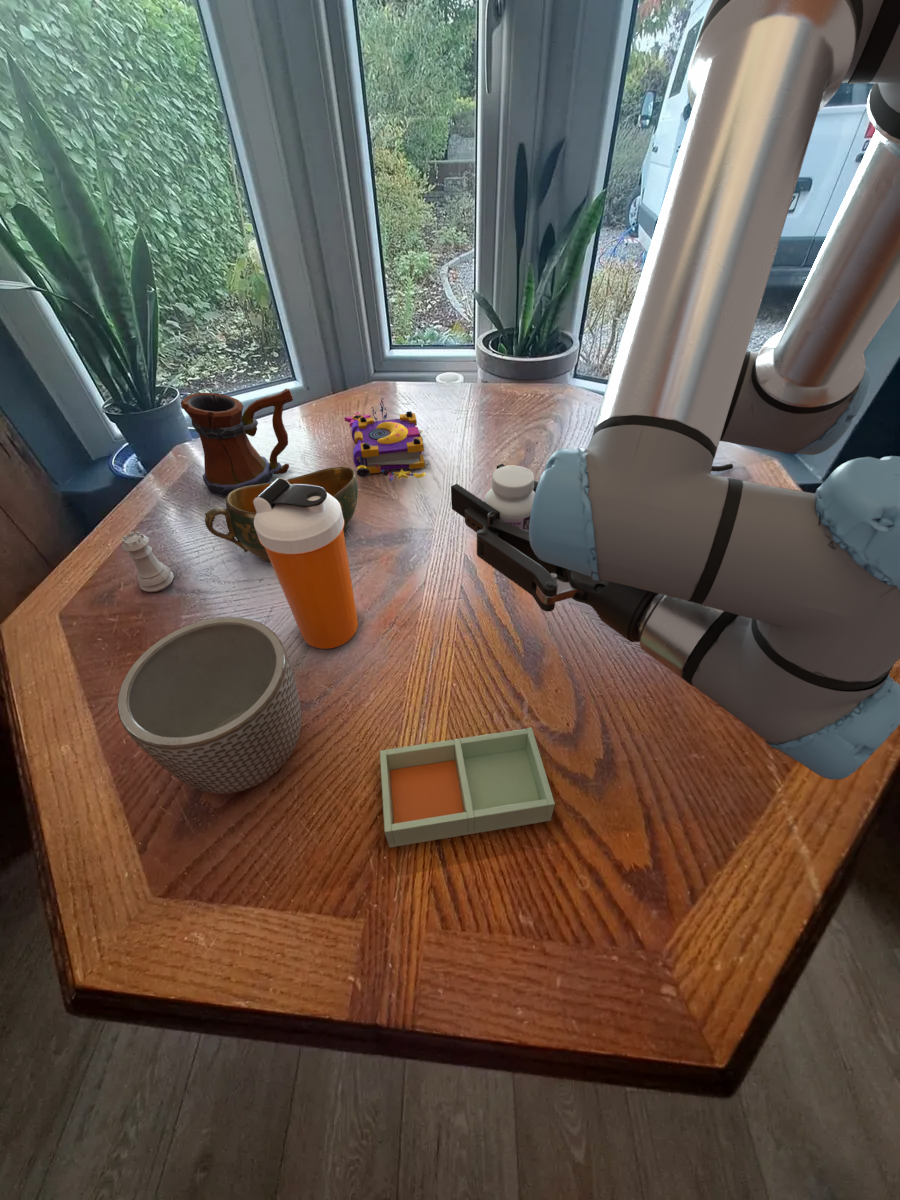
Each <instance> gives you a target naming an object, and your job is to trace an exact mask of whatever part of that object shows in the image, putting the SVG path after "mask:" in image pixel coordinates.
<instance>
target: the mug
mask: <svg viewBox="0 0 900 1200" xmlns="http://www.w3.org/2000/svg"><path fill="white" fill-rule="evenodd" d="M292 401H294V396H293V394H292V392H291V390H290V389H289V388H285V389H283V390H282V391H280V392H278V393H276V394H273V395H269V396H265V397H261V398H259V399H257V400H255V401H253V402H252V403H250V404H249V405H248V406H247V407H246V408H245V410H244V405H243V402H242V401H241V400H239V399H237V398H235V397H232V396H229V395H227V394H221V393H218V392H217V393H216V392H214V393H213V392H197V393H193V394H192V393H191V394H189V395H187V396H185V397H184V398H183V399H182V400H181V401H180V402H179V403H180V406H181V408H182V409H183V410H184V411H185V413H186V414H187V415H188V416H189V418H190V419H191V426H192V427H193V429H194V431H196V433H198V436H199V439H200V442H201V446H202V452H203V459H204V460H203V461H204V473H203V475H202V481H203V482H204V484H205V486H206V488H207V489H208V491H209V492H210V493H212V494H214V495H216V496H218V497H219V496H220V497H222V498H227V495H228V494H229V493H230V492H231V491H233V490H235V489H237V488H241V487H245V486H251V485H258V484H265V483H271V480H272V477H273V475H281V474H286V473H287V472H288V470H289V468H290V464H289V463H284V464H283V465H282V464H281V462H278V456H279V455H280V454H281V453H283V451H284V450H285V449H286V448H287V446H288V445H289V436H288V432H287V430H286V427H285V424H284V422H283V411H284V405H285V404H288V403H291V402H292ZM269 407H274V408H273V409H274V410H273V413H272V418H271V419H272V422H271V423H272V428H273V432H274V435H275V438H276V440H277V443H276V445H275V446H274V447H273V449H272V450H271V451H270V455H269V461H268V459H267V458H266V457H265V456H262V455H260V453H259V452H258V451H257V450H256V448H255V447H254V446H253V444H252V443H251V441H250V439H249V437H248V436H250V437H255V436H256V435H257V432H258V425H259V422H258V420H257V419H256V418H255V417H254V416H255V413H257V412H259V411H261V410H263V409H266V408H269ZM243 410H244V412H243Z"/></svg>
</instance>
